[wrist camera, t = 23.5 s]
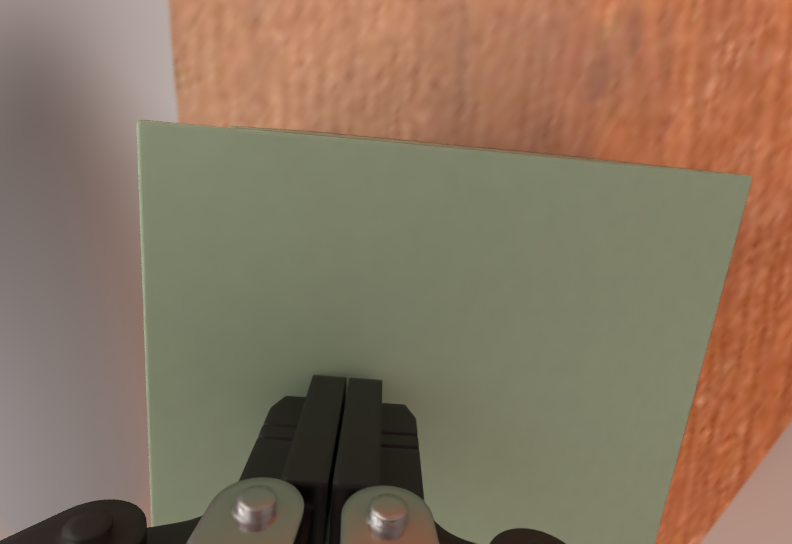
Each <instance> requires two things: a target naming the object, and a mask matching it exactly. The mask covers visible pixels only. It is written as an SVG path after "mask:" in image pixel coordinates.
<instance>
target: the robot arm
mask: <svg viewBox="0 0 792 544" xmlns="http://www.w3.org/2000/svg"><path fill="white" fill-rule="evenodd" d="M346 384H347V377H335V376H322V375H313V377H312V380H311V383H310V386H309V389H308V393H307V396H306V397H296V396H285V397H284V398H282V399H281V400H280V401H278V402H277V403H276V404H275V405H273V406H272V407H271V408H270V410H269V412H268V414H267V417H266V419H265V421H264V426H262V428H261V431H260V433H259V435H258V438H257V440H256V442H255V444H254V447H253V449H252V451H251V454H250V456H249V458H248V461H247V463H246V465H245V467H244V470H243V472H242V474H241V477H240V479H239V481H238V482H236V483H233V484H231V485H229V486H228V487H226V488H224V489H223V490H222V491H220V492H219V493H218V494H217V495H216V496H215V497H214V498H213V500H212V501H211V503H210V504H209V506H208V508H207V509H206V511H205V513H204V514H203V515H202V516H200V517H197V518H194V519H191V520H187V521H183V522H178V523H172V524H166V525H160V526H154V527H149V528H147V523H146V517H145V514H144V513H143V511H142V510H141V509H140V508H139V507H137V506H136V505H134V504H132V503H130V502H126V501H122V500H98V501H92V502H88V503H84V504H81V505H78V506H75V507H72V508H70V509H68V510H65V511H63V512H61V513H59V514H57V515H55V516H52V517H51V518H48V519H46V520H44V521H42V522H39V523H37V524H35V525H33V526H31V527H29V528H27V529H24V530H22V531H20V532H18V533H16V534H14V535H12V536H9V537H7V538H5V539H3V540H1V541H0V544H476V543H473V542H470V541H467V540H464V539H462V538H459V537H457V536H455V535H453V534H451V533H449V532H448V531H446V530H445V529H443V528H442V527H441V526H440V525H439V524H437V523H436V522H435V520H434V518H433V515H432V512H431V510H430V508H429V506H428V505H427V504H426V503H425V501H424V492H423V482H422V472H421V462H420V452H419V442H418V437H417V435H418V432H417V422H416V418H415V416H414V415H413V414H412V413H411V411H410V410H409V409H408V408H407V406H406V405H404V404H391V403H382V380H376V379H363V378H349V384H348V390H347V396H346ZM345 398H346V403H345ZM490 544H566V543H564V542H563V541H561V540H560V539H558V538H556V537H554V536H552V535H550V534H547V533H545V532H542V531H538V530H534V529H528V528H515V529H509V530H506V531H503V532H501V533H499V534H498V535H497V536H495V537H494V538H493V540H492V541H491V542H490Z"/></svg>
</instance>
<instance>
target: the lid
mask: <svg viewBox="0 0 792 544" xmlns="http://www.w3.org/2000/svg"><path fill="white" fill-rule="evenodd" d="M137 150H138V177H139V203H140V230H141V258H142V285H143V311H144V339H145V366H146V391H147V419H148V446H149V473H150V501H151V527H154V526H160V525H166V524H172V523H178V522H183V521H187V520H191V519H194V518H197V517H200V516H202V515H203V514H204V513H205V511H206V509H207V508H208V506H209V504H210V503H211V501H212V500H213V498H214V497H215V496H216V495H217V494H218V493H219V492H220V491H222V490H223V489H224V488H226V487H228V486H229V485H231V484H233V483H236V482H238V481H239V479H240V477H241V474H242V472H243V470H244V467H245V465H246V463H247V461H248V458H249V456H250V454H251V451H252V449H253V447H254V444H255V442H256V440H257V438H258V435H259V433H260V431H261V428H262V426H264V421H265V419H266V417H267V414H268V412H269V410H270V408H271V407H272V406H273V405H275V404H276V403H277V402H278V401H280V400H281V399H282V398H284V397H285V396H296V397H306V396H307V393H308V389H309V386H310V383H311V380H312V377H313V375H322V376H335V377H347V384H346V396H347V390H348V384H349V378H363V379H376V380H382V403H391V404H404V405H406V406H407V408H408V409H409V410H410V411H411V413H412V414H413V415H414V416H415V418H416V422H417V432H418V435H417V437H418V442H419V452H420V462H421V472H422V482H423V492H424V501H425V503H426V504H427V505H428V506H429V508H430V510H431V512H432V515H433V518H434V520H435V522H436V523H437V524H439V525H440V526H441V527H442V528H443V529H445V530H446V531H448V532H449V533H451V534H453V535H455V536H457V537H459V538H462V539H464V540H467V541H470V542H473V543H476V544H490V542H491V541H492V540H493V538H494V537H495V536H497V535H498V534H499V533H501V532H503V531H506V530H509V529H515V528H528V529H534V530H538V531H542V532H545V533H547V534H550V535H552V536H554V537H556V538H558V539H560V540H561V541H563V542H564V543H566V544H654V543H655V540H656V536H657V532H658V529H659V525H660V521H661V517H662V514H663V510H664V506H665V502H666V499H667V495H668V491H669V487H670V484H671V480H672V476H673V472H674V469H675V465H676V461H677V458H678V454H679V450H680V446H681V443H682V439H683V435H684V431H685V428H686V424H687V420H688V416H689V413H690V409H691V405H692V401H693V398H694V394H695V390H696V387H697V383H698V379H699V375H700V372H701V368H702V364H703V360H704V357H705V353H706V349H707V345H708V342H709V338H710V334H711V330H712V327H713V323H714V319H715V316H716V312H717V308H718V304H719V301H720V297H721V293H722V289H723V286H724V282H725V278H726V274H727V271H728V267H729V263H730V259H731V256H732V252H733V248H734V245H735V241H736V237H737V233H738V230H739V226H740V222H741V218H742V215H743V211H744V207H745V203H746V200H747V196H748V192H749V188H750V185H751V181H752V177H751V176H750V175H741V174H731V173H721V172H710V171H699V170H688V169H677V168H666V167H655V166H644V165H633V164H622V163H611V162H600V161H589V160H578V159H567V158H556V157H545V156H534V155H523V154H512V153H501V152H490V151H479V150H468V149H457V148H446V147H435V146H424V145H413V144H402V143H391V142H380V141H369V140H358V139H347V138H336V137H325V136H314V135H303V134H293V133H282V132H271V131H260V130H249V129H238V128H227V127H216V126H205V125H194V124H183V123H171V122H161V121H150V120H140V121H138V122H137ZM345 403H346V398H345Z"/></svg>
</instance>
